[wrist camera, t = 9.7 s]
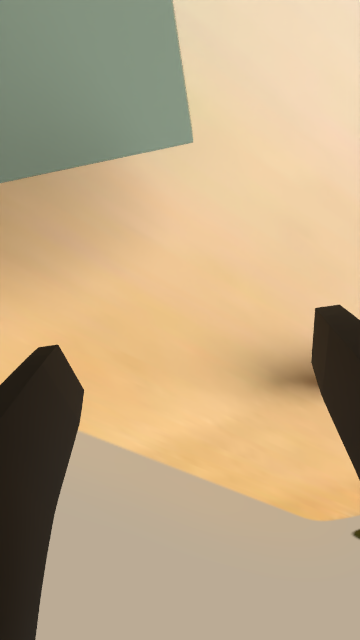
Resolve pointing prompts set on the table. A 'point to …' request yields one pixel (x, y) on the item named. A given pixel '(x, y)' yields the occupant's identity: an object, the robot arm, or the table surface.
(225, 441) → the table surface
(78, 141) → the board
